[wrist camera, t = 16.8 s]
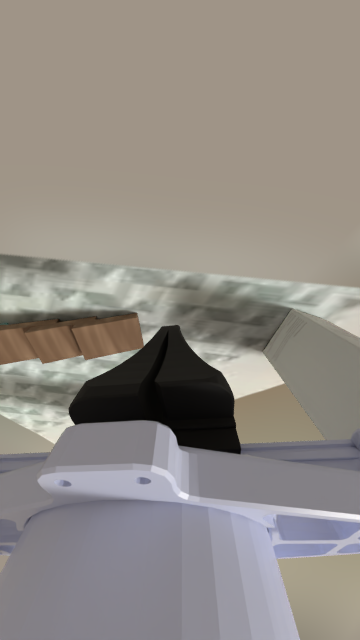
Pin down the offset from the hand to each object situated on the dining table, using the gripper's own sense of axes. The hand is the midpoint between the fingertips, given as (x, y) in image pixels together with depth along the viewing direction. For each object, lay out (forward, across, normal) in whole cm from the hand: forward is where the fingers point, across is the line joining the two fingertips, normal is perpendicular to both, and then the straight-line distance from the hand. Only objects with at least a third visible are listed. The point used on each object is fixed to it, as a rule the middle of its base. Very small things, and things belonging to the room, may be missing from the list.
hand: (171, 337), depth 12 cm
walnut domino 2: (+10, +12, +5) cm, 16 cm away
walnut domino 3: (+10, +6, +5) cm, 12 cm away
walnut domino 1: (+10, +18, +4) cm, 21 cm away
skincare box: (+11, -16, +8) cm, 21 cm away
